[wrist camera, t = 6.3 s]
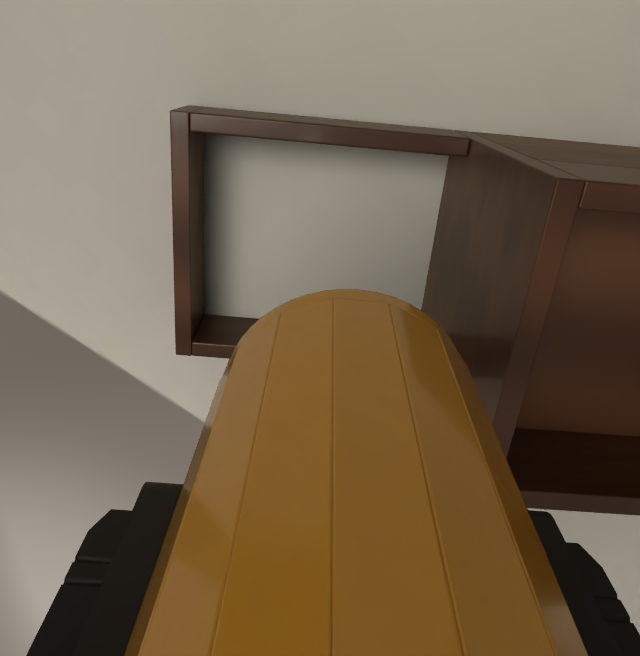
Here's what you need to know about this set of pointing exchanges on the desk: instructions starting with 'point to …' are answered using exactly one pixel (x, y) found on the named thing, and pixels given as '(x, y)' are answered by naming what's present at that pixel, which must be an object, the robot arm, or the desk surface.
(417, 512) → the cup
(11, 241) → the desk surface
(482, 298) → the organizer
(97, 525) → the robot arm
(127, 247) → the desk surface
